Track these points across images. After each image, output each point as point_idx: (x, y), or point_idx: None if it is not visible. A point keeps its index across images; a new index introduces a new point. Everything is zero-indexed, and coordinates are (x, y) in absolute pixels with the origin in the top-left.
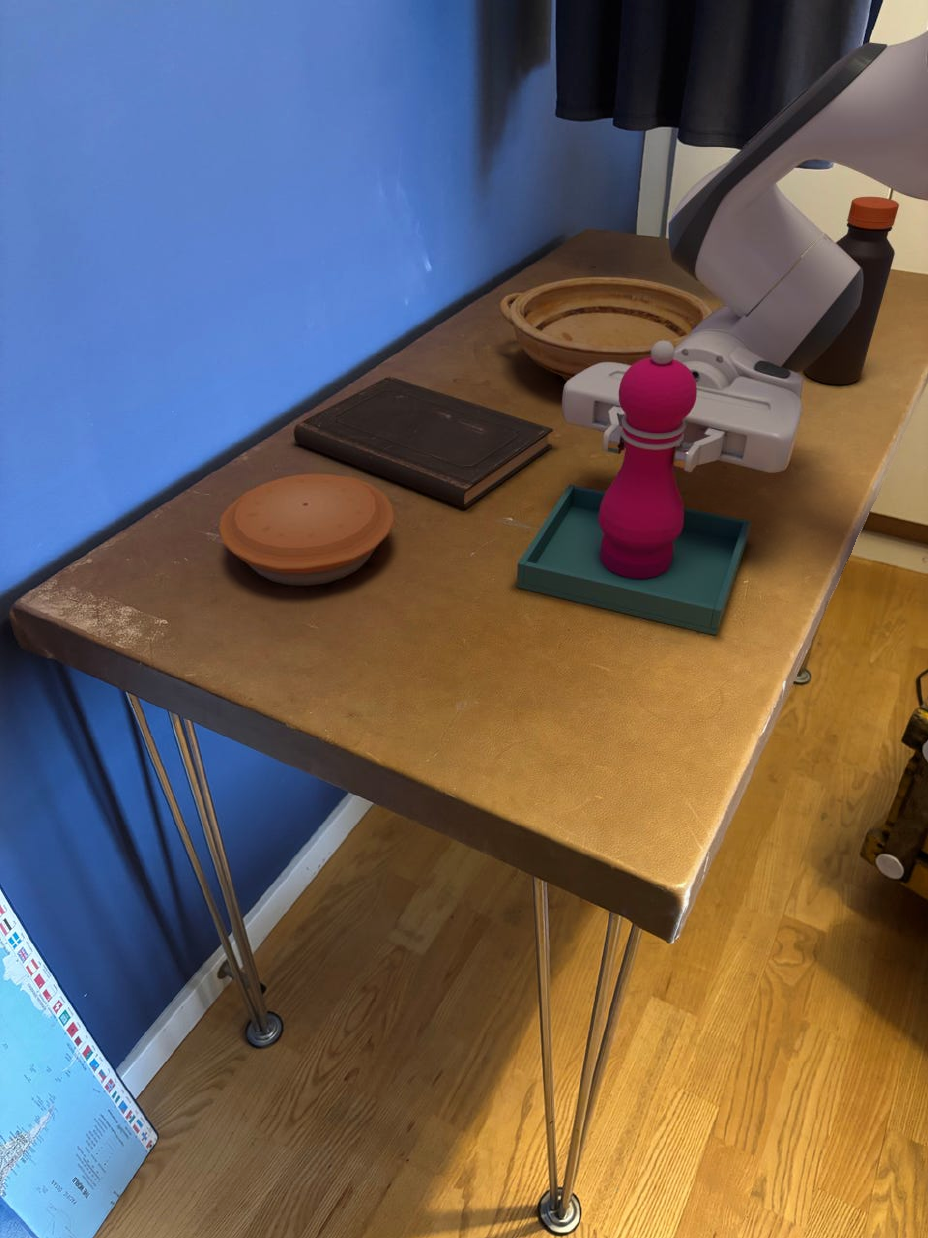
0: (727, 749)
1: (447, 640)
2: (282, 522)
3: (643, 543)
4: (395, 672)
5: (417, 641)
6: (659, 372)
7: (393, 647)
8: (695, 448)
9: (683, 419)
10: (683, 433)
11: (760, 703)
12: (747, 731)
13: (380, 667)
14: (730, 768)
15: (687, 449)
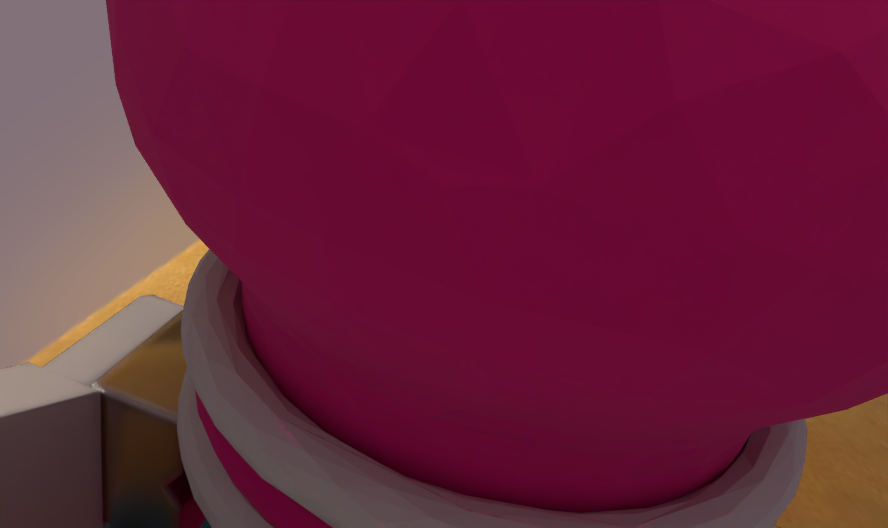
0: (185, 276)
1: (790, 505)
2: None
3: None
4: (820, 427)
5: (847, 501)
6: None
7: (878, 485)
8: (112, 323)
9: (192, 317)
10: (186, 376)
11: (65, 345)
12: (129, 299)
13: (856, 437)
14: (192, 253)
15: (180, 328)
